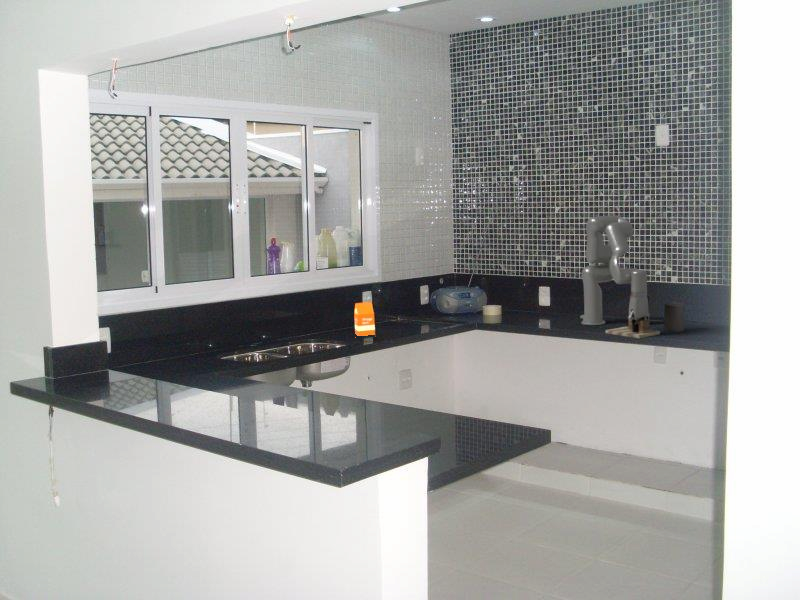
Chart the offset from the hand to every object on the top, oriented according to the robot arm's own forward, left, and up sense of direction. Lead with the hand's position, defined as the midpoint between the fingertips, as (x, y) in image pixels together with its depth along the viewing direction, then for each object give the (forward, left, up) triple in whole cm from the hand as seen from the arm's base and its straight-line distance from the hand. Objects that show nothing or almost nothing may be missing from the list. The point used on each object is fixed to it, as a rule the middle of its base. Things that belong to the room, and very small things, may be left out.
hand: (639, 330), depth 433 cm
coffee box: (-20, +24, -2) cm, 32 cm away
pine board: (-4, 0, -2) cm, 5 cm away
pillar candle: (+5, +21, -2) cm, 22 cm away
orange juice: (-91, -104, -2) cm, 139 cm away
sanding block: (0, 0, 0) cm, 0 cm away
